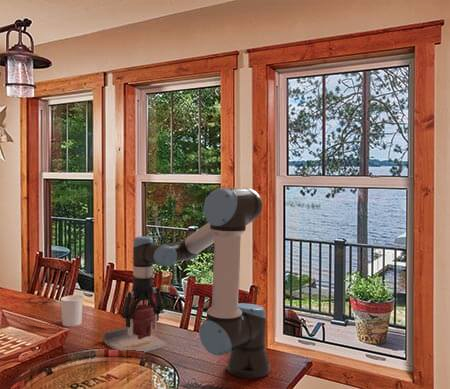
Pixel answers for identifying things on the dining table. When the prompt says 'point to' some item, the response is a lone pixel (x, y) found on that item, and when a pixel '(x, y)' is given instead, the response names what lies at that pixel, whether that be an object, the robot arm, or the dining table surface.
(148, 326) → the mechanical component
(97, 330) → the dining table surface
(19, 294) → the dining table surface
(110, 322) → the dining table surface
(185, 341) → the dining table surface
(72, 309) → the candle holder
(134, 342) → the rack plate
